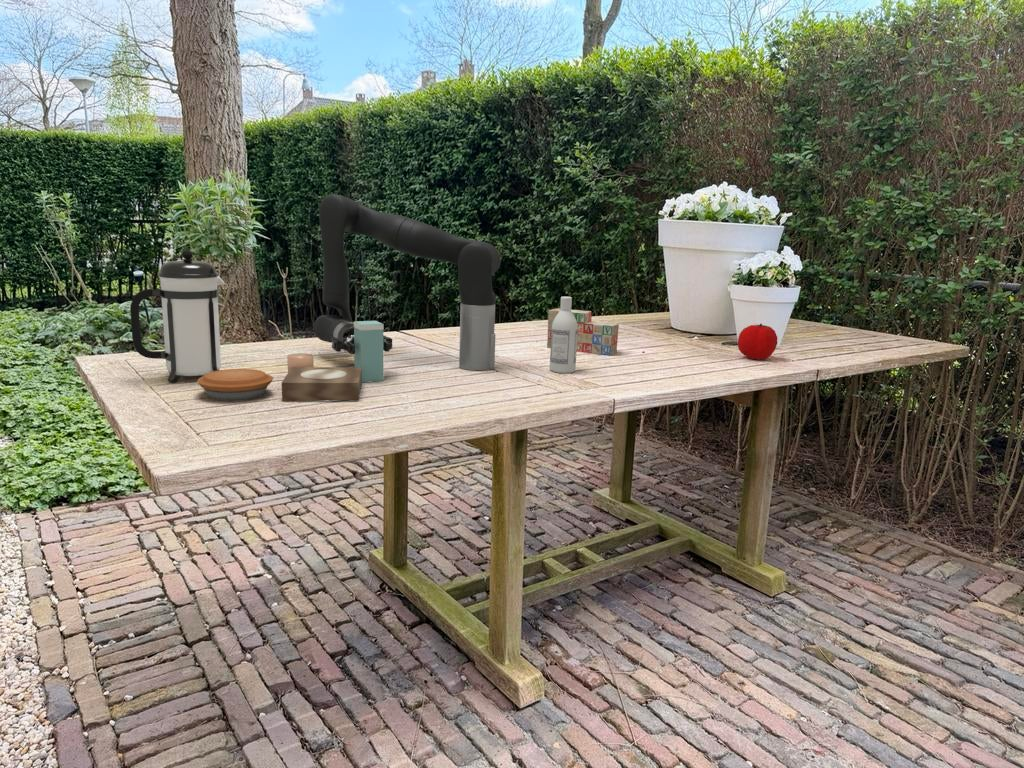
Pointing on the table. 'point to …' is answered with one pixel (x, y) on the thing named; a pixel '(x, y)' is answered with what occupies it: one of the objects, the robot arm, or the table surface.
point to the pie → (235, 384)
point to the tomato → (757, 341)
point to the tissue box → (322, 383)
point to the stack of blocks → (590, 333)
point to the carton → (369, 349)
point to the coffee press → (185, 318)
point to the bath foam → (564, 339)
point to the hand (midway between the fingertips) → (371, 348)
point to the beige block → (300, 360)
